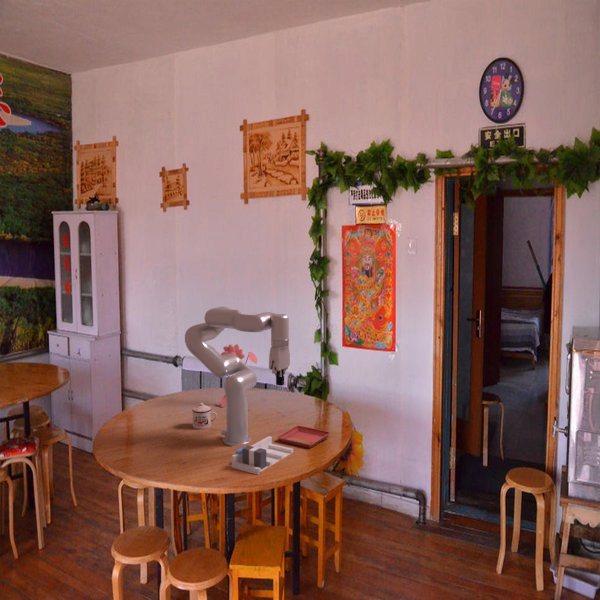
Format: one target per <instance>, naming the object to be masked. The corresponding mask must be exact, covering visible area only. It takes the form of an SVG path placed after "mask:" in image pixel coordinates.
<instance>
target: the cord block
mask: <svg viewBox="0 0 600 600" xmlns="http://www.w3.org/2000/svg"><path fill="white" fill-rule="evenodd" d="M243 447H244V448H243V449H242V458H243V464H247V465H251V466H255V467H259V468H261V469H263V468H265V467H266V450H265V449H261V448H257V447H252V446H251V445H246V446H243Z"/></svg>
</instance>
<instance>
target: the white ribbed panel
mask: <svg viewBox="0 0 600 600" xmlns="http://www.w3.org/2000/svg"><path fill="white" fill-rule="evenodd" d="M250 446H252V447H257V448H261V449H265V450H266V467H265V468H263V469H261V468H259V467H255V466H251V465H247V464H243V458H242V449H243V448H244V447H245V446H242V447H240V448H238V449H236V450H235V453H234V454H233V455H231V468H232V469H235V470H238V471H239V470H240V471H242V472H246V473H251V474H254V475H260V474H261V473H262V472H263V471H265V470H266V469H268V468H270V467H272V466H273V465H274V464H277V463H278V462H280V461H282V460H283V459H285V458H286V457H288V456H290V455H291V454H293V453H294V448H292V447H287V446H283V445H279V444H274V443H273V437H272V436H271V435H268V436H267V437H265V438H263V439H260V440H259V441H257V442H255V443H254V444H252V445H250Z"/></svg>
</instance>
